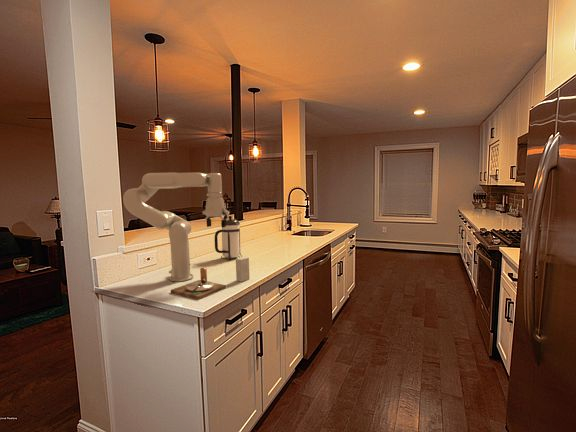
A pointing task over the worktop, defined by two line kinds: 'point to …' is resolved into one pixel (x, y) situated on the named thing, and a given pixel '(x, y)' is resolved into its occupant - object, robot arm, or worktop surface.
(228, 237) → the coffee press
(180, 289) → the dial plate
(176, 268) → the robot arm
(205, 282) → the dial
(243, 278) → the skincare box
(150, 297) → the worktop surface
